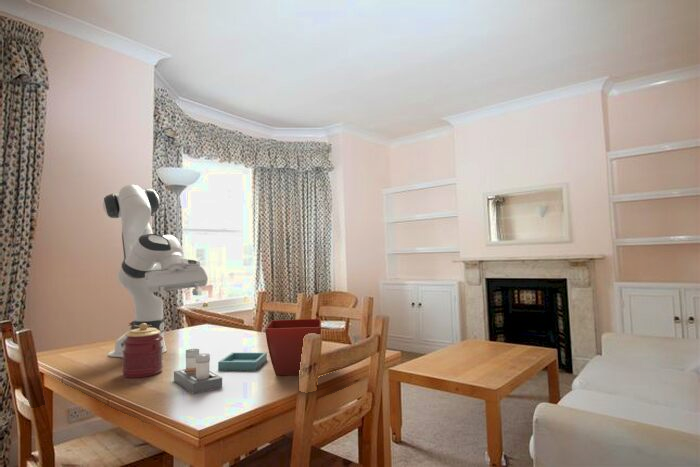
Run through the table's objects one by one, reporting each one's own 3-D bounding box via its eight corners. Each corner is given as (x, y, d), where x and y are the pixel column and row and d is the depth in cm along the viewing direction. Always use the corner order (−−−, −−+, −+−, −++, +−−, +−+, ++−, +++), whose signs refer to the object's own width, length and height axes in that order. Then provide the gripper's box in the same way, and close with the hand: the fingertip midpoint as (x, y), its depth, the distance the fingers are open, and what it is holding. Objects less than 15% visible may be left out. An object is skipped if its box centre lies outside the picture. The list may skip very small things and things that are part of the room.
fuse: (193, 389, 124) (193, 356, 124) (199, 384, 128) (199, 353, 128) (206, 389, 123) (206, 356, 124) (211, 385, 128) (212, 353, 128)
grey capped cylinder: (183, 382, 130) (183, 351, 131) (189, 378, 135) (189, 348, 135) (195, 382, 130) (195, 351, 131) (201, 378, 134) (201, 348, 135)
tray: (218, 370, 144) (218, 361, 144) (232, 360, 158) (232, 352, 158) (256, 370, 143) (256, 362, 143) (266, 360, 157) (266, 352, 157)
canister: (144, 379, 134) (145, 326, 135) (112, 377, 137) (113, 325, 138) (170, 369, 147) (171, 320, 148) (140, 367, 150) (141, 319, 151)
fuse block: (173, 380, 133) (173, 370, 133) (200, 374, 139) (200, 364, 139) (193, 394, 119) (193, 382, 120) (222, 387, 125) (222, 376, 125)
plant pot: (271, 363, 152) (271, 319, 153) (321, 362, 154) (321, 318, 154) (264, 379, 133) (264, 328, 134) (321, 377, 134) (321, 327, 135)
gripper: (144, 265, 142) (149, 293, 133) (203, 260, 153) (211, 286, 145) (143, 277, 146) (148, 306, 137) (201, 271, 157) (209, 297, 148)
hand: (181, 295), depth 141 cm, fingers open, 8 cm apart
